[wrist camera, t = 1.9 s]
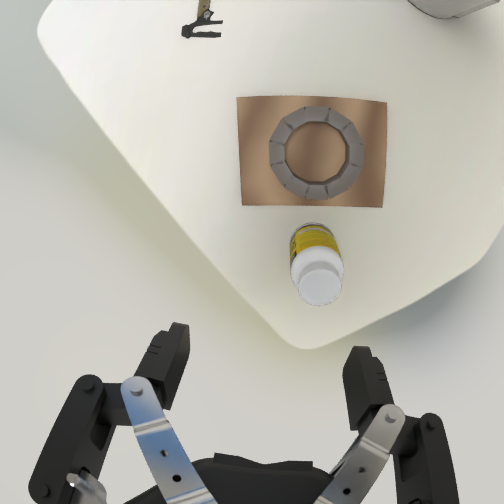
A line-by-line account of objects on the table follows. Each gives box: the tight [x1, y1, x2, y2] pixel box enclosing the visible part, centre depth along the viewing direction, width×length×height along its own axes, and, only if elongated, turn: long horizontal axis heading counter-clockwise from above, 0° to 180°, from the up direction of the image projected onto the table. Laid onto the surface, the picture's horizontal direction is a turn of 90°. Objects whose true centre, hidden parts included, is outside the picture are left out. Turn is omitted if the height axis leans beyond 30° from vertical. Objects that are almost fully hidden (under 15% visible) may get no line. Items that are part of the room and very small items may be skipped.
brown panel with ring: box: [236, 96, 387, 208], centre depth 27 cm, size 16×12×3 cm
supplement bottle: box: [290, 223, 344, 306], centre depth 29 cm, size 5×5×10 cm
